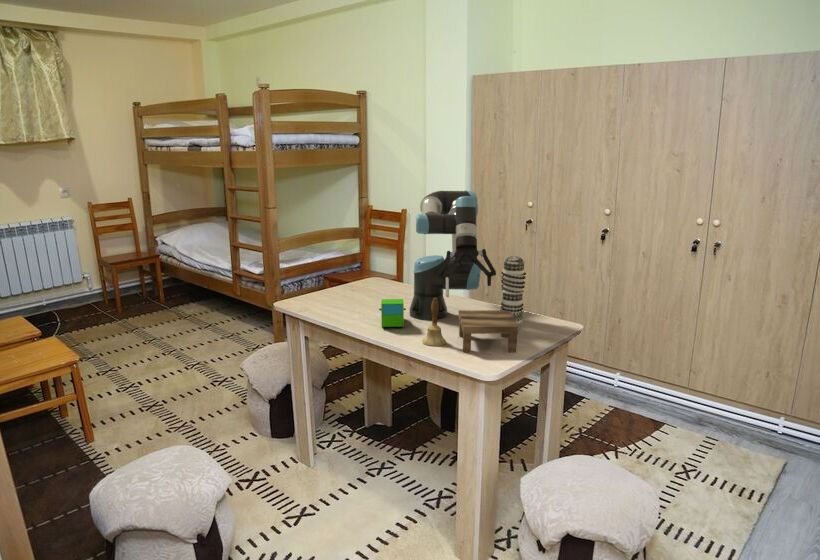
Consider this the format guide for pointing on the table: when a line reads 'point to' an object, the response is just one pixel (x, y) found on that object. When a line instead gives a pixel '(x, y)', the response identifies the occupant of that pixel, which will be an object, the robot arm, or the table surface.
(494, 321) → the walnut stool
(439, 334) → the hand bell
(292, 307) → the table surface
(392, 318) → the toy car
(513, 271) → the decorative candle
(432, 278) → the robot arm
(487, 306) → the table surface
